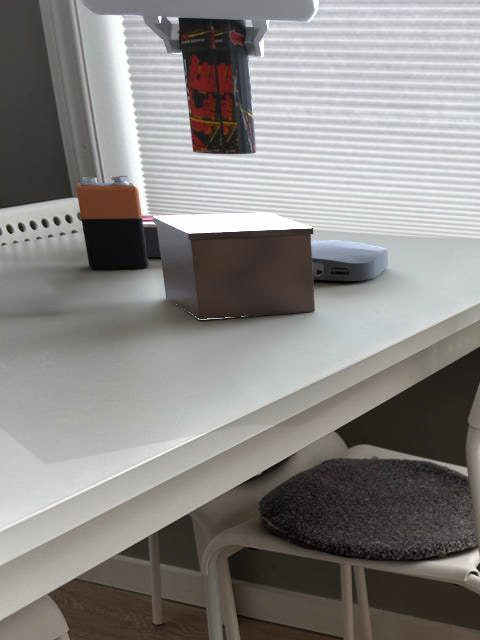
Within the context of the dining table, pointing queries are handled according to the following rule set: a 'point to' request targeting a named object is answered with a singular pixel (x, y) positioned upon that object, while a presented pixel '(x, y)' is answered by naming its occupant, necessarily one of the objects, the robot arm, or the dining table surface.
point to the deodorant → (217, 85)
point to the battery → (112, 224)
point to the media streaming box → (347, 260)
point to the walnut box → (236, 264)
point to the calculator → (153, 234)
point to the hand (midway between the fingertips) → (215, 49)
